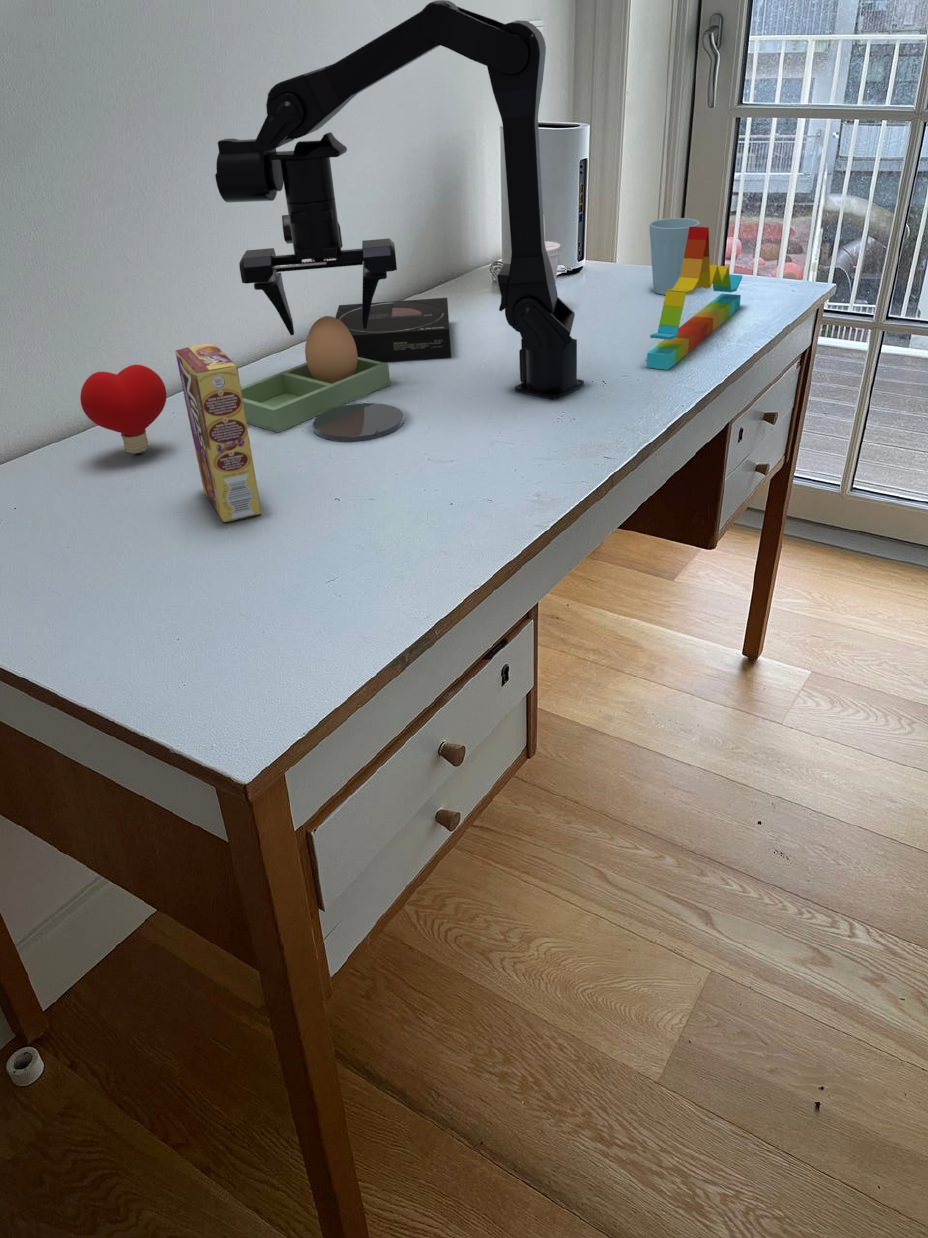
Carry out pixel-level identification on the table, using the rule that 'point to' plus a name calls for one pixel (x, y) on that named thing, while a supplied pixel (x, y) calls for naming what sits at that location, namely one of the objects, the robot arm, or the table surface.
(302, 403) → the tray
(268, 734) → the table surface
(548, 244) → the smoothie
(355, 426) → the coaster
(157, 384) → the light bulb
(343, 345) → the egg
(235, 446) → the candy box
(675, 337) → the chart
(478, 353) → the table surface
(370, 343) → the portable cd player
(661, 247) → the cup
